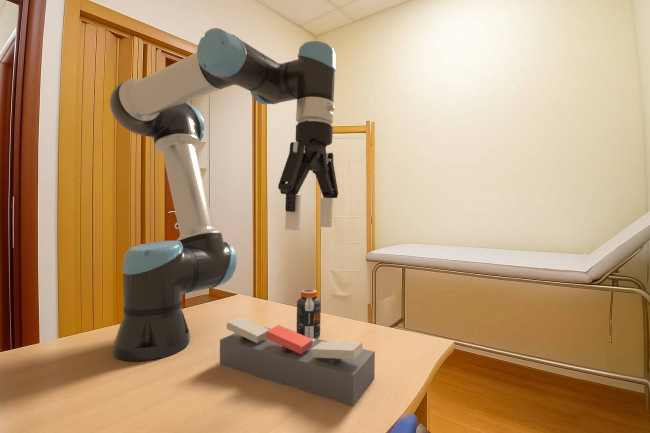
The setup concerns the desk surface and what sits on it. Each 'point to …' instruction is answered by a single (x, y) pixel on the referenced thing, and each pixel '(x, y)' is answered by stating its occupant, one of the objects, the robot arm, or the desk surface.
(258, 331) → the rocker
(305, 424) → the desk surface
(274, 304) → the desk surface
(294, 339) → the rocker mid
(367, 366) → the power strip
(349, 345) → the block
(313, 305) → the pill bottle
